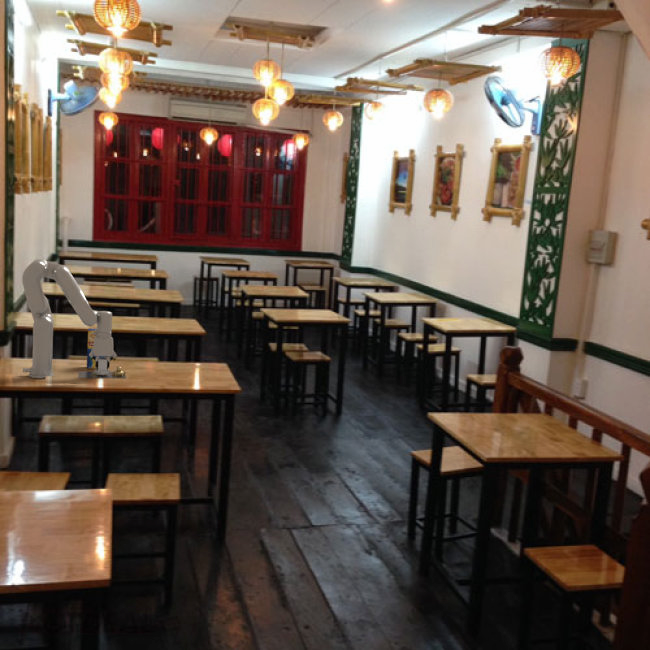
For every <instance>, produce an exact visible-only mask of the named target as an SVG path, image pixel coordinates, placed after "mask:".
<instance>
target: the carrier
mask: <svg viewBox="0 0 650 650" xmlns="http://www.w3.org/2000/svg"><path fill="white" fill-rule="evenodd" d="M126 374H127V372H126V371H125V370H123V369H122V366H116V369H115V370H114V371H113V370H112V371H110V374H108V375H97V374H94V371H78V375H77V376H78V378H79V379H124V380H125V379H127V375H126Z"/></svg>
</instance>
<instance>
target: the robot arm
mask: <svg viewBox="0 0 650 650" xmlns="http://www.w3.org/2000/svg"><path fill="white" fill-rule="evenodd" d="M21 277H22V280H21V281H22V285H23V290H24V293H25V298H26V301H27V306H28V309H29V311H30V313H31V316H32V319H33V323H32V324H33V325H32V326H33V327H32V361H31V362H32V366H31V367H29V368H27V367H23V368H22V372H23V373H28V377H30V378H33V379H46V378H47V377H52V376H54V375H55V373H54V372H53V349H54V348H53V342H54V341H53V340H54V339H53V338H54V323H55V322H54V318H53V314H52V311H51V307H50V304H49V303H50V302H49V299H48V298H47V297H46V295H45V294H44V290H43V286H42V283H41V279H42V277H44V278H47V279H49V280H50V279H51V280H54V281H55V282H56V284H57V285H58V287H59V288H60V290H61V291H62V293H63V294H64V297H65V298H66V299H67V301H68V302H69V304H70V305H71V307H72V308H73V310H74V311H75V313H76V315H77V316H78V317H79V319H80V320H81V322H82V323H83V325H85V326H87V327H93V326H95V324H96V329H97V332H94V335H96V337H95V339H94V345H93V350H92V351H91V352H90V354H89V356H90V357H92V358H93V359H94V360H95V361H96V364H95V367H97V368H96V370H97V369H98V358H99V356H100V357H107V359H108V360H107V369H108V370H109V368H110V362H111V361H112V360H114V359H115V358H116V357H117V356H118V355H117V353H116V352H115V350H114V338H113V337H112V331H113V329H112V327H113V325H112V324H113V321H112V320H113V312H111V311H110V310H109V311H108V310H96V309H95V310H94V309H92V307H91V305H90V304H89V302H88V300H87V298H86V297H85V294H84V291H83V289H82V288H81V286H80V285H79V283H78V282H77V281H76V279H75V278H74V276H73V275H72V273H71V270H70V268H69V267H68V266H65V265H63V264H59V263H56V262H52V261H48V260H45V259H42V258H41V259H40V258H37V259H34V260H33V261H32V262H30V263H29V265H27V267H26V268H25V269H24V271H23V273H22V276H21ZM92 354H93V355H94V356H93V355H92ZM95 356H96V357H95Z"/></svg>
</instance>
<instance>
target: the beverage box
mask: <svg viewBox="0 0 650 650" xmlns="http://www.w3.org/2000/svg"><path fill="white" fill-rule="evenodd" d="M94 332H97V328H88V330H87V350H86V351H87V352H86V353H87V354H86V355H87V356H86V368H87V369H97V367H95V364H96V361H95V360H94V359H93V358H92V357H90V356H89V354H90V352H91V351H92V350H93V345H94V339H95V337H96V335H94ZM92 355H93V354H92ZM93 356H94V355H93ZM95 357H96V356H95ZM99 358H107V357H100V356H99ZM107 360H108V359H107Z"/></svg>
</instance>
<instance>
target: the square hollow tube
mask: <svg viewBox="0 0 650 650" xmlns="http://www.w3.org/2000/svg"><path fill="white" fill-rule="evenodd" d="M93 369H94V371H93V372H94V374H97V375H108V374H110V372H111V369H109V368H108V369H107V358H98V369H97V368H93Z"/></svg>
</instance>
